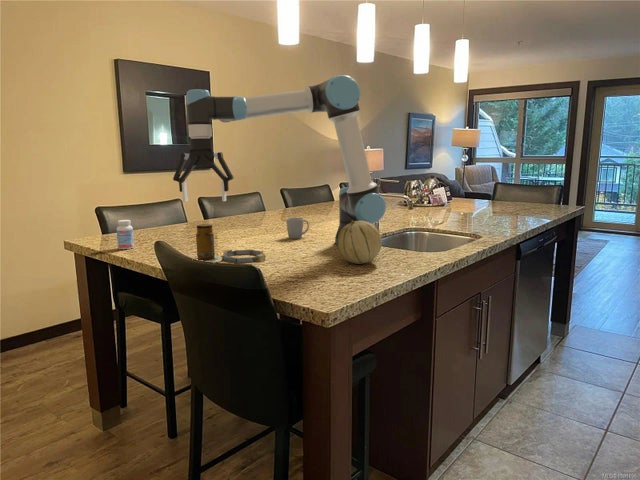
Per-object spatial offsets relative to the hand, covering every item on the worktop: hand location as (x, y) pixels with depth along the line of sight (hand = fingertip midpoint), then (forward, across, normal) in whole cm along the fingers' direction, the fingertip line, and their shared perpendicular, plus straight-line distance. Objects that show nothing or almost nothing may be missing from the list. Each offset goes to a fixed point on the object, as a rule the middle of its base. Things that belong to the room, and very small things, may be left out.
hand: (204, 201), depth 164 cm
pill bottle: (+21, +40, -20) cm, 49 cm away
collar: (+21, -12, -4) cm, 24 cm away
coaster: (+21, 0, 0) cm, 21 cm away
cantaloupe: (+22, -53, +2) cm, 57 cm away
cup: (+22, -26, -44) cm, 56 cm away
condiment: (+21, 0, 0) cm, 21 cm away
